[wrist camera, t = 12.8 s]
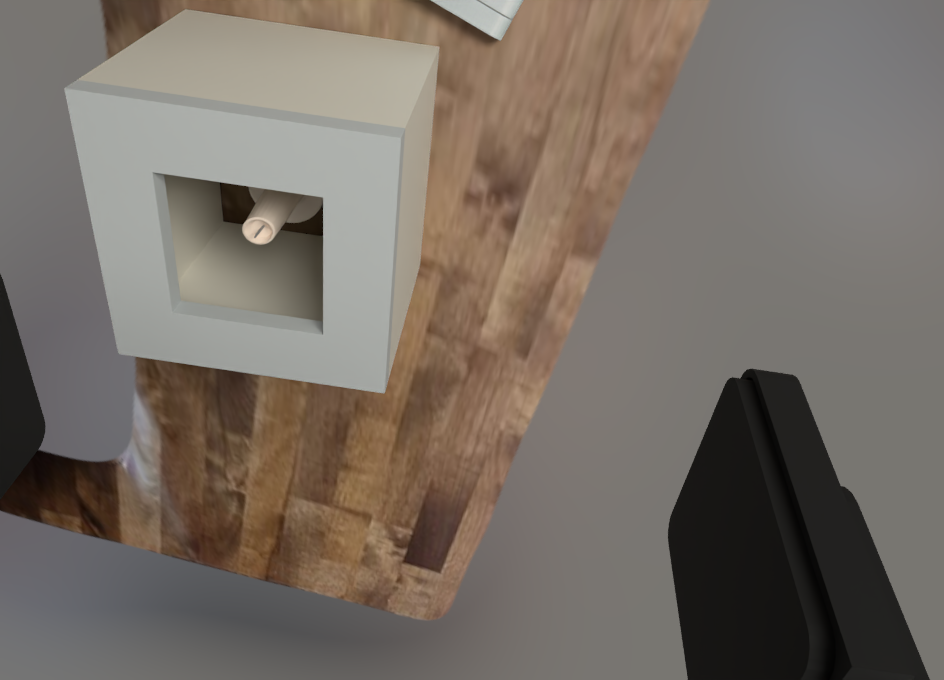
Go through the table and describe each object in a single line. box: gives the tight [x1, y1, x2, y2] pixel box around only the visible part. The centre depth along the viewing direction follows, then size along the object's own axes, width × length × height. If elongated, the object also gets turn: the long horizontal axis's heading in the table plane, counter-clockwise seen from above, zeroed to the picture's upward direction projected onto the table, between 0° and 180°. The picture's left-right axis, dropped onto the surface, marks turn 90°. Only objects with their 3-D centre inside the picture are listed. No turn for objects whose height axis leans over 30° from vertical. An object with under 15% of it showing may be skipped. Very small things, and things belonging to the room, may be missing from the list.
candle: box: [242, 186, 323, 245], centre depth 39 cm, size 5×5×10 cm
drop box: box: [64, 9, 439, 393], centre depth 38 cm, size 13×13×12 cm
